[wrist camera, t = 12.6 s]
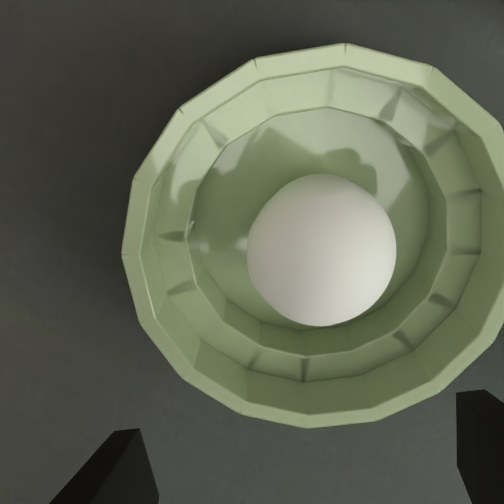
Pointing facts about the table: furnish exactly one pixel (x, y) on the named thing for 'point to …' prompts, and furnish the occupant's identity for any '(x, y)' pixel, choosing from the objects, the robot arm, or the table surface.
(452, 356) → the bowl
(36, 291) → the table surface
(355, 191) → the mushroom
